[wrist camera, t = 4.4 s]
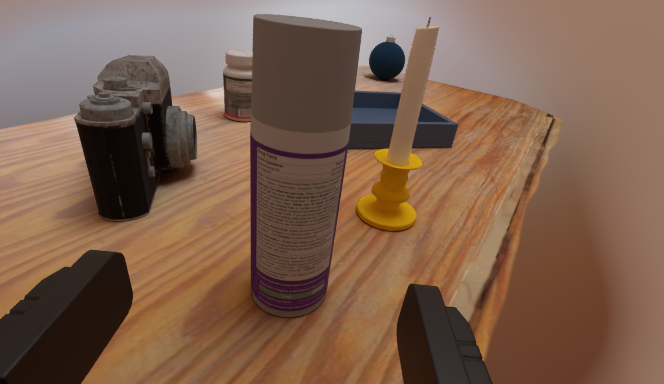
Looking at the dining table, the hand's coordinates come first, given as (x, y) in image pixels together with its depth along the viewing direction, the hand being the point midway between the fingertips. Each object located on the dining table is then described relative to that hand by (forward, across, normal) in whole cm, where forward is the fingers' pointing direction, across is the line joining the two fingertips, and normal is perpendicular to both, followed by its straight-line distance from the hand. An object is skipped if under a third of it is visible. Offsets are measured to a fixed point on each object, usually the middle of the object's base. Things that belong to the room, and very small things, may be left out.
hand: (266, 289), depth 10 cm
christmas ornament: (+80, -14, +9) cm, 81 cm away
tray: (+42, -8, +8) cm, 43 cm away
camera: (+21, +14, +9) cm, 26 cm away
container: (+9, 0, +9) cm, 12 cm away
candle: (+18, -7, +9) cm, 22 cm away
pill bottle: (+40, +11, +9) cm, 42 cm away
